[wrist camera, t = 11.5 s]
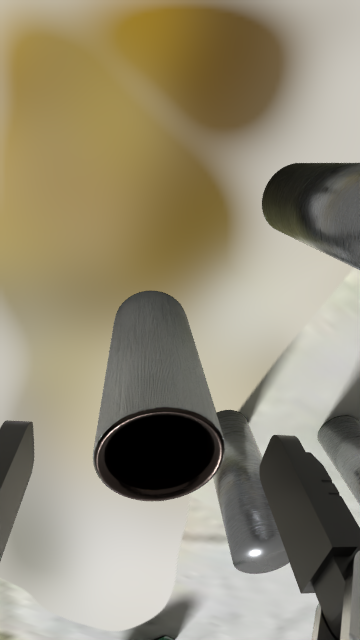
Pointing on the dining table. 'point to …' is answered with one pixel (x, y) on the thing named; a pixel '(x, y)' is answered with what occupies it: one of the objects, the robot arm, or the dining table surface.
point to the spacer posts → (339, 433)
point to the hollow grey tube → (155, 405)
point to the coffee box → (165, 638)
